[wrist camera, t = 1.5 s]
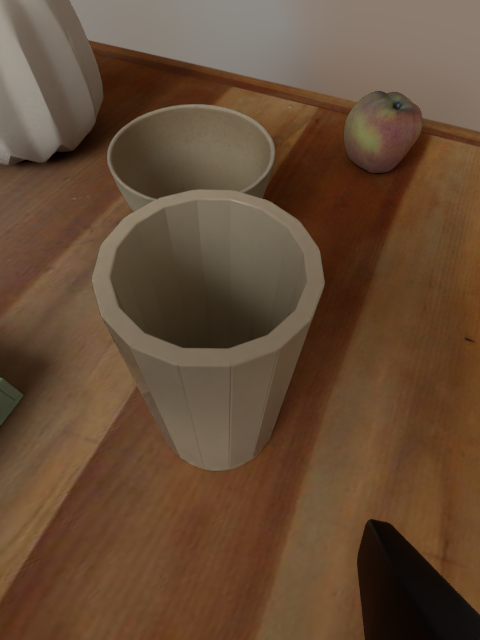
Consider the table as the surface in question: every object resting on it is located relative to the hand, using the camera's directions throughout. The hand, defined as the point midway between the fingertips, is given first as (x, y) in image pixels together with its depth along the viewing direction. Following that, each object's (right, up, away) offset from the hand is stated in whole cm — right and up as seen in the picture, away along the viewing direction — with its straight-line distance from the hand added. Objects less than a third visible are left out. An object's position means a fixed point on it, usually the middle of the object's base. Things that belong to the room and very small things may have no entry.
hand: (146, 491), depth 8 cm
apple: (+13, +17, +26) cm, 34 cm away
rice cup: (+1, -2, +13) cm, 13 cm away
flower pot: (-1, +10, +21) cm, 23 cm away
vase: (-17, +20, +27) cm, 38 cm away
